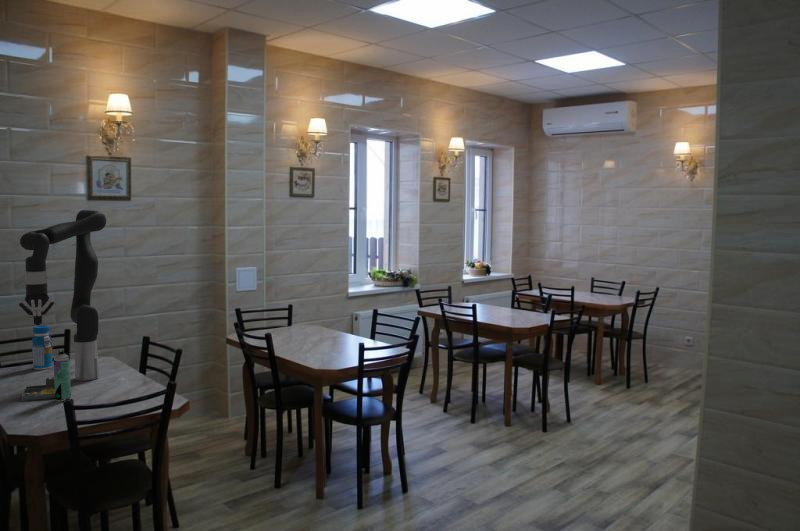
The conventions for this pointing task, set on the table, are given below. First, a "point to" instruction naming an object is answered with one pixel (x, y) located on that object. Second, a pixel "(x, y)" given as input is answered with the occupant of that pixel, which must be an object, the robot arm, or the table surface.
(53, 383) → the toggle
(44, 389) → the panel
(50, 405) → the table surface
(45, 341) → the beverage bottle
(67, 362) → the spray can
